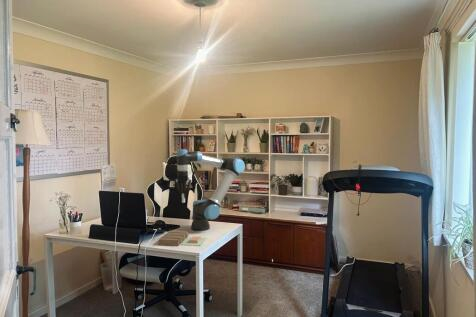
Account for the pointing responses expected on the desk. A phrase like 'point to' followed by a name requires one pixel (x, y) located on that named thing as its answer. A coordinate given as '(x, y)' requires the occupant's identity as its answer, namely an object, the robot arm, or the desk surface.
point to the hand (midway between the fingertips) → (183, 202)
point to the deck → (173, 238)
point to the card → (194, 239)
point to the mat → (193, 243)
